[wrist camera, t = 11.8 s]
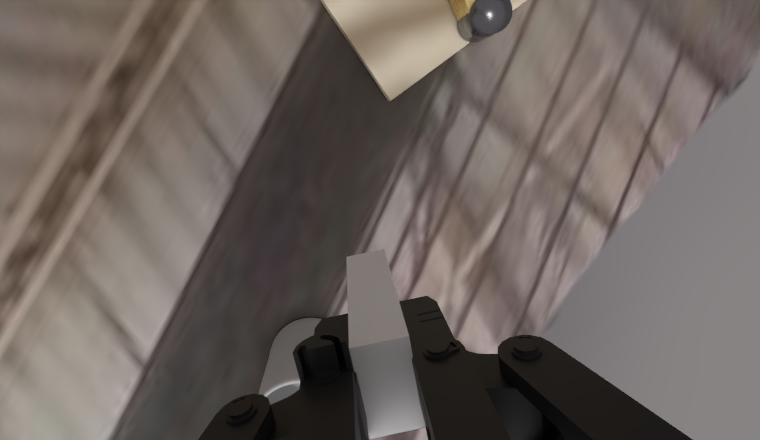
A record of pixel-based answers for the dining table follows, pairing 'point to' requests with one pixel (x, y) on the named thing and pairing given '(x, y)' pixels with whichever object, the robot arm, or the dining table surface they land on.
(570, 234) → the dining table surface
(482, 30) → the collar
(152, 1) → the dining table surface
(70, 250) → the dining table surface
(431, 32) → the post board
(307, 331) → the mug
